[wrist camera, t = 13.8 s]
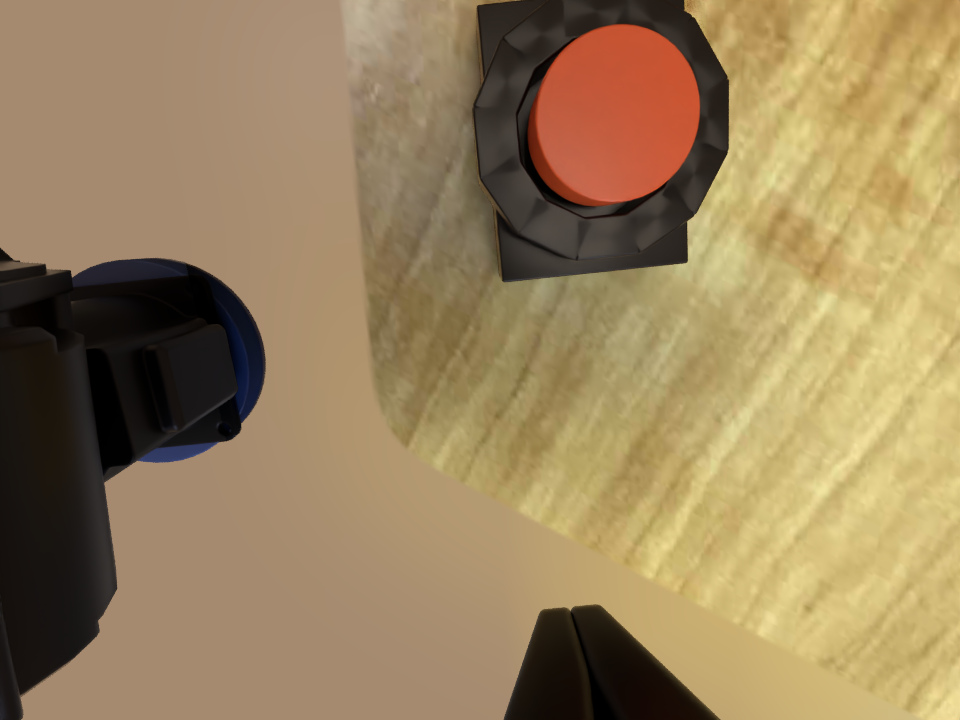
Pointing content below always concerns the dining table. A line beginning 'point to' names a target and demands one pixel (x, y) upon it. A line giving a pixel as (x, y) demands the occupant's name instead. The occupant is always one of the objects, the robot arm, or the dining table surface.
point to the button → (613, 116)
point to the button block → (510, 170)
